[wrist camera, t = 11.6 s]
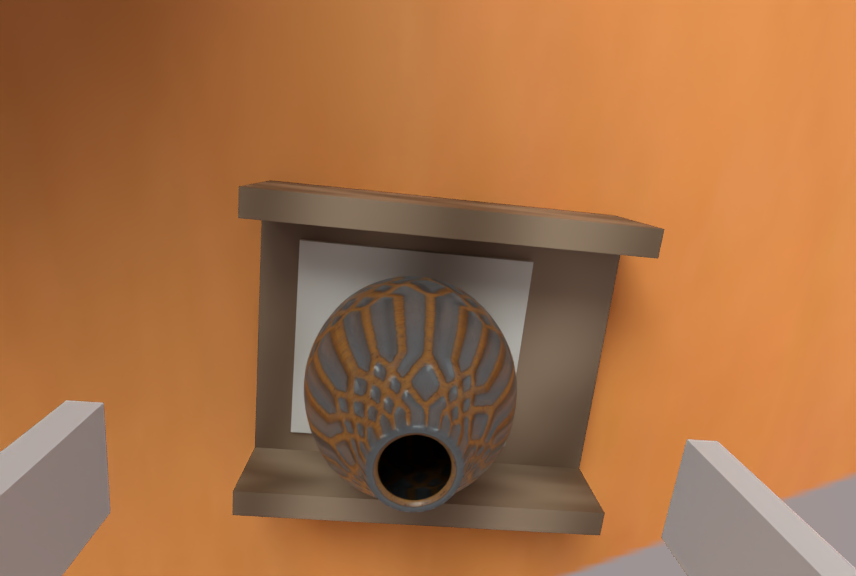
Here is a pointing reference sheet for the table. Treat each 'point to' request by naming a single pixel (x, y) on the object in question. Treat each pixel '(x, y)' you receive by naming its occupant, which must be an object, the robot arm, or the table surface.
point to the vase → (410, 391)
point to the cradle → (484, 281)
